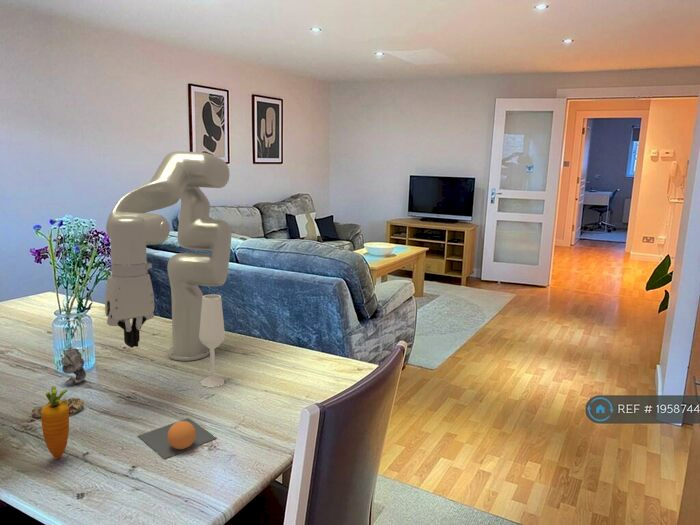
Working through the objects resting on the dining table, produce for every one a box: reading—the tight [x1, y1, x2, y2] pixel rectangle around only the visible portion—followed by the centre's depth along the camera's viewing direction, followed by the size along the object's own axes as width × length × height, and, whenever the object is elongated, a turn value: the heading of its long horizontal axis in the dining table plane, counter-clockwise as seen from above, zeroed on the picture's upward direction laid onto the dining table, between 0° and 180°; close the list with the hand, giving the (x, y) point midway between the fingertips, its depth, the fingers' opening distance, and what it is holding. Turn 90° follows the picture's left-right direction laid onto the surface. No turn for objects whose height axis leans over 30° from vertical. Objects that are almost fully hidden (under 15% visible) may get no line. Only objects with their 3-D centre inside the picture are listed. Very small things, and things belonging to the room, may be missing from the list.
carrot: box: [40, 385, 70, 460], centre depth 100 cm, size 5×5×15 cm
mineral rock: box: [31, 397, 85, 420], centre depth 120 cm, size 11×4×8 cm
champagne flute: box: [199, 294, 226, 387], centre depth 138 cm, size 7×7×24 cm
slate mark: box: [137, 417, 218, 460], centre depth 111 cm, size 12×12×1 cm
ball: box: [167, 420, 196, 449], centre depth 107 cm, size 6×6×6 cm
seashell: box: [60, 346, 87, 385], centre depth 135 cm, size 5×5×10 cm
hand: (132, 345), depth 123 cm, fingers closed
